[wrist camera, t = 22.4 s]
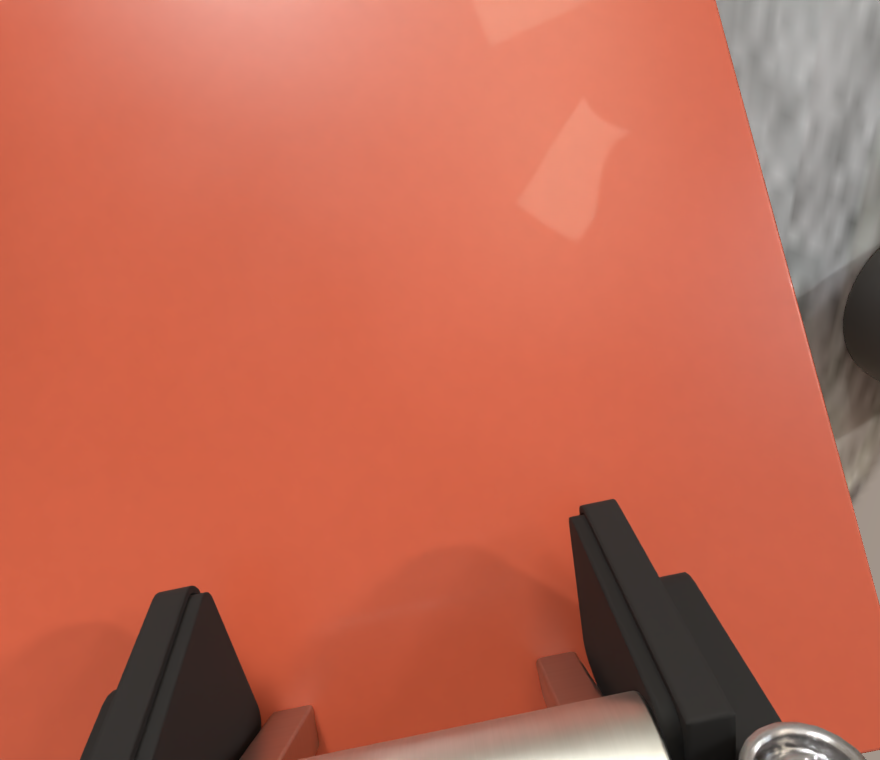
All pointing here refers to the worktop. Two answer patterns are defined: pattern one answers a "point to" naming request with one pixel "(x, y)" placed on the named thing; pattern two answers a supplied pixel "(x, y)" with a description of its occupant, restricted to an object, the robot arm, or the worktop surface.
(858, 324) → the mug
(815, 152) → the worktop surface
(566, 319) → the lid
